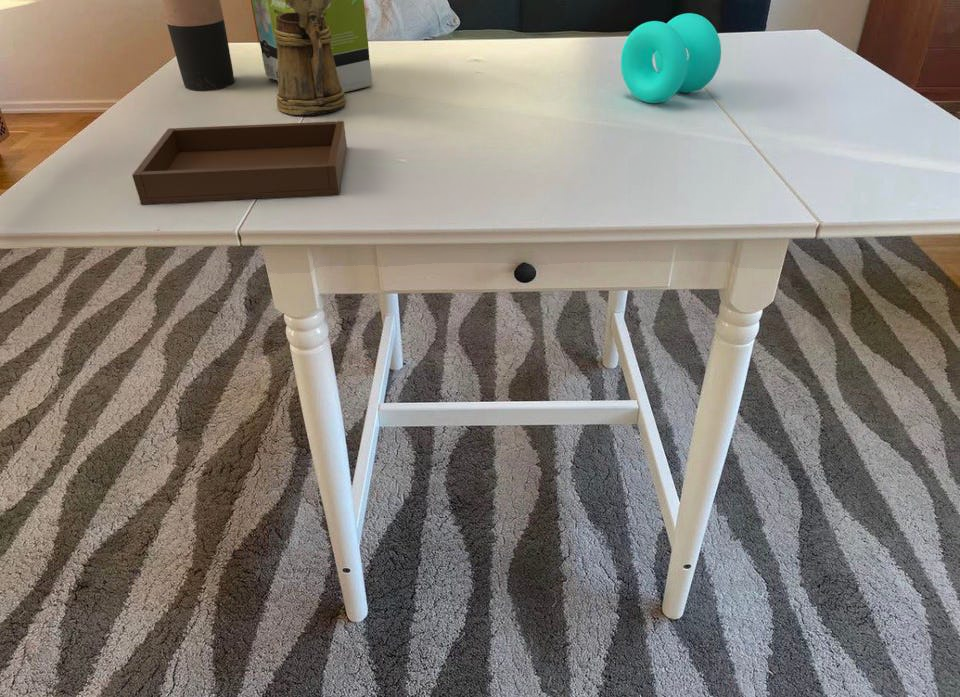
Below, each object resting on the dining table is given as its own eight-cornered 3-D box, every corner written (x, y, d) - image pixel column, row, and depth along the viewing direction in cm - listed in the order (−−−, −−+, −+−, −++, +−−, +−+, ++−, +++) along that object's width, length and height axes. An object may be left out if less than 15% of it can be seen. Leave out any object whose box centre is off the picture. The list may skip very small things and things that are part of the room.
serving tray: (140, 204, 72) (131, 174, 70) (175, 154, 83) (167, 128, 81) (339, 194, 73) (335, 165, 72) (347, 147, 84) (343, 120, 83)
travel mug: (186, 78, 109) (149, -75, 98) (238, 75, 110) (208, -77, 99) (178, 92, 103) (138, -69, 91) (234, 89, 104) (200, -71, 92)
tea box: (263, 79, 108) (243, -32, 100) (322, 67, 113) (308, -40, 105) (313, 100, 99) (295, -20, 90) (375, 86, 104) (364, -29, 95)
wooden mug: (297, 130, 89) (270, -34, 79) (270, 102, 99) (244, -47, 89) (366, 119, 92) (349, -40, 82) (333, 92, 102) (315, -52, 92)
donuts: (718, 97, 98) (732, 17, 92) (671, 113, 93) (683, 29, 87) (659, 82, 104) (669, 6, 99) (612, 95, 99) (620, 17, 93)
